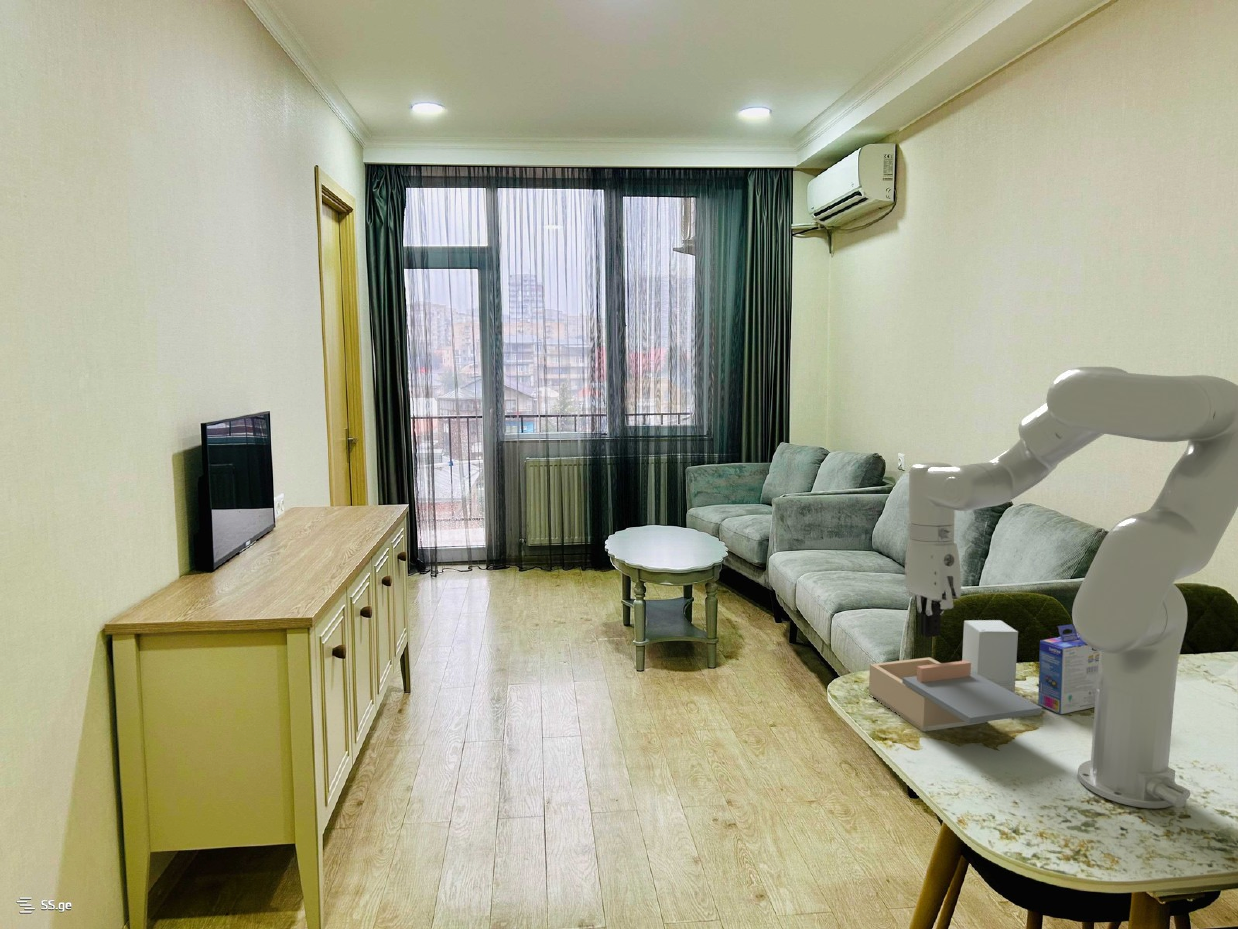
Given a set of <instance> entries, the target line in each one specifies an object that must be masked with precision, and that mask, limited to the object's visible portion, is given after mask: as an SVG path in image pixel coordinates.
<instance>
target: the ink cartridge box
mask: <svg viewBox="0 0 1238 929" xmlns="http://www.w3.org/2000/svg"><path fill="white" fill-rule="evenodd" d="M1057 630H1058V633H1059V636H1058V637H1053V638H1047V639H1041V640H1040V641H1039V664H1038V665H1039V666H1038V667H1039V668H1038V669H1039V670H1038V697H1037V698H1038V699H1037V700H1038V701H1037V703H1038V704H1037V705H1038V706H1040V707H1042V708H1046V709H1048V710H1050V711H1052V712H1054V713H1057V714H1058V715H1064V714H1065V715H1066V714H1070V713H1074V712H1079V711H1082V710H1086V709H1093V708H1095V696H1096V682H1097V671H1098V662H1099V655H1100V651H1098V650H1096V649H1094V648H1092V647H1090V646H1089V645H1087V644H1086V643H1085V642H1084V641H1083V640H1082V639H1081V638H1080V636H1079V635H1078V633H1077V632H1076V629H1075V627H1074V624H1065V625H1059V626H1058V625H1057ZM1066 630H1071V633H1063V632H1064V631H1066Z"/></svg>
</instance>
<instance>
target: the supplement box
mask: <svg viewBox="0 0 1238 929" xmlns="http://www.w3.org/2000/svg"><path fill="white" fill-rule="evenodd" d="M962 635H963V636H962V637H963V638H962V659H961V661H968V662H970V663H971V671H972V672H974V673H976V674H978V675H980V676H982V677H984V678H986V679H988V680H990V681H992V682H994V683H995V684H997V685H999V686H1001V687H1003V688H1005V689H1007V690H1009V691H1011V692H1013V693H1015V694H1016V691H1015V690H1016V676H1017V674H1016V673H1017V660H1018V659H1017V656H1018V638H1019V637H1018V636H1019V631H1018V630H1016V629H1014V628H1013V627H1012V626H1010V625H1008V624H1007V623H1005V622H1004V621H1003V620H1000V619H998V620H997V619H996V620H995V619H992V620H991V619H988V620H987V619H986V620H984V619H983V620H982V619H978V620H977V619H976V620H975V619H972V620H964V621H963V634H962Z"/></svg>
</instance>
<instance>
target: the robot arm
mask: <svg viewBox="0 0 1238 929" xmlns="http://www.w3.org/2000/svg"><path fill="white" fill-rule="evenodd" d="M1018 435H1019V438H1020V439H1019V440H1018V441H1017V442H1016V443H1015V444H1014V445H1013V446H1011V447H1009V448H1008V449H1007V450H1005V451H1004V452H1003V453H1001V454H1000V455H998V456H997V457H995V458H993V459H992V460H989V461H988V462H980V463H979V462H978V463H971V464H964V465H957V466H956V465H954V466H953V465H951V464H949V463H945V462H932V461H931V462H917V463H914V464H913V465H911V467H910V468H909V476H908V480H909V481H908V540H907V546H906V552H905V561H904V585H905V589H907V591H908V595H909V596H910V597H911V598H912V599H914V601H915V602H916V606H917V609H916V610H917V611H918V613H919V635H920V636H923V637H925V638H933V637H940V636H941V634H942V633H941V632H942V631H941V627H942V626H941V624H942V622H941V621H942V616H941V615H943V614H944V611H945V610H951V609H953V608H954V600H959V599H960V598H961V596H962V593H961V592H962V581H961V580H962V576H961V575H962V574H961V564H960V554H959V549H958V545H957V543H955V513H956V512H955V511H960V512H969V511H974V510H979V509H984V508H990V507H997V506H1001V505H1003V504H1006V503H1008V502H1010V501H1012V500H1014V499H1015V498H1017V497H1019V496H1020V495H1022V494H1024V493H1025V492H1027V491H1029V490H1030V489H1032V488H1033V487H1035V486H1036V485H1038V484H1039V483H1041V482H1042V481H1043V480H1045V478H1047V477H1048V476H1049V475H1050V474H1051V473H1052V472H1053V471H1054V470H1056V468H1057V466H1058V465H1059V464H1060V463H1061V462H1063V461H1065V460H1066V459H1067V458H1069V457H1071V456H1072V455H1074V454H1075V453H1077V452H1078V451H1080V450H1081V449H1082V450H1083V449H1084V448H1085V447H1087V446H1088V445H1090V444H1092V442H1095V441H1096V440H1098V439H1099V438H1100V437H1103V436H1104V435H1112V436H1118V437H1124V438H1129V439H1130V438H1131V439H1134V440H1135V439H1137V440H1144V441H1149V442H1157V443H1158V442H1159V443H1179V442H1186V441H1188V443H1187V447H1186V448H1185V451H1184V452H1183V454H1182V455H1181V457H1180V458H1179V459H1178V461H1177V462H1176V463H1175V465H1174V466H1173V468H1172V469H1171V471H1170V472H1169V473H1168V475H1167V478H1166V481H1165V483H1164V485H1163V487H1162V489H1161V491H1160V492H1159V494H1158V496H1157V497H1156V500H1155V501H1154V503H1153V504H1152V506H1151V507H1150V508H1149V509H1148V510H1146V511H1143V512H1138V513H1135V514H1132V515H1130V516H1127V517H1125V518H1123V519H1122V520H1120V521H1119V522H1117V523H1115V524H1114V526H1113V527H1112V528H1111V529H1110V530H1109V531H1108V533H1107V534H1106V535H1105V536H1104V539H1103V540H1102V542H1101V544H1100V545H1099V548H1098V550H1097V552H1096V553H1095V556H1094V559H1093V561H1092V562H1091V564H1090V566H1089V568H1088V571H1087V572H1086V575H1085V576H1084V578H1083V581H1082V582H1081V585H1080V587H1079V589H1078V591H1077V593H1076V594H1075V595H1076V596H1075V598H1074V601H1073V605H1072V610H1071V612H1072V613H1071V616H1072V623H1073V624H1072V625H1073V627H1074V629H1075V631H1076V634H1078V635H1079V636H1080V638H1081V639H1082V640H1083V641H1084V642H1085V643H1086V644H1087V645H1089V646H1090V647H1092V648H1094V649H1096V650H1098V651H1100V655H1099V662H1098V671H1097V682H1096V696H1095V707H1094V713H1093V726H1092V741H1091V754H1090V760H1087V761H1084V762H1082V763H1081V764H1080V765H1079V766H1078V767H1077V778H1078V780H1079V782H1080V783H1081V784H1082V785H1083V786H1084V787H1085V788H1086V789H1087V790H1089V791H1091V792H1092V793H1094V794H1096V795H1098V796H1100V797H1102V798H1105V799H1106V800H1109V801H1112V802H1115V803H1118V804H1121V805H1126V806H1130V807H1135V808H1140V809H1141V808H1142V809H1164V808H1165V809H1166V808H1169V807H1172V806H1174V807H1176V808H1177V809H1181V808H1183V807H1184V806H1185V805H1186V802H1187V799H1189V798H1190V797H1191V795H1192V794H1191V790H1190V789H1188V788H1187V787H1184V786H1183V785H1179V784H1177V783H1176V781H1175V779H1176V770H1175V769H1174V768H1171V767H1169V763H1170V754H1171V753H1170V752H1171V741H1172V740H1171V739H1172V730H1173V728H1172V726H1173V717H1174V716H1173V715H1174V705H1175V704H1174V703H1175V692H1176V687H1177V686H1176V685H1177V684H1176V683H1177V674H1178V665H1179V660H1180V654H1181V649H1182V645H1183V642H1184V638H1185V633H1186V629H1187V623H1188V606H1187V603H1186V600H1185V597H1184V594H1183V593H1182V592H1181V590H1180V589H1179V587H1177V586H1176V584H1174V582H1175V581H1176V580H1180V579H1184V578H1186V577H1189V576H1192V575H1194V574H1196V573H1199V572H1200V571H1202V570H1203V569H1204V568H1206V566H1207V565H1208V564H1209V563H1210V561H1211V559H1212V557H1213V555H1214V553H1215V551H1216V549H1217V546H1218V545H1219V543H1220V541H1221V539H1222V537H1223V536H1224V534H1225V532H1226V530H1227V528H1228V526H1229V525H1230V523H1231V521H1232V519H1233V518H1234V516H1235V514H1236V512H1237V509H1238V384H1235V383H1234V382H1232V381H1230V380H1228V379H1225V378H1222V377H1218V376H1213V375H1204V374H1203V375H1202V374H1201V375H1198V374H1197V375H1195V374H1194V375H1158V374H1157V375H1156V374H1145V373H1144V374H1143V373H1133V372H1131V373H1130V372H1128V371H1126V370H1124V369H1122V368H1119V367H1113V366H1080V367H1079V366H1078V367H1074V368H1071V369H1068V370H1066V371H1065V372H1062V373H1061V374H1060V375H1058V376H1057V377H1056V378H1055V379H1054V380H1053V381H1052V383H1051V384H1050V386H1049V388H1048V390H1047V394H1046V402H1045V403H1043V404H1042V405H1041V406H1039V407H1038V408H1036V409H1035V410H1033V411H1032V412H1030V413H1029V414H1027V415H1026V416H1025V417H1023V418H1022V419H1021V420H1020V422H1019V424H1018Z"/></svg>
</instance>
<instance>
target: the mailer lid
mask: <svg viewBox="0 0 1238 929" xmlns="http://www.w3.org/2000/svg"><path fill="white" fill-rule="evenodd" d="M902 683H903V684H904V685H906V686H908V687H909V688H911V689H913V690H914V691H916V692H918V693H919V694H921V695H922V696H924V697H926V698H927V699H929V700H931V701H932V702H934V703H936V704H937V705H939V706H941V707H942V708H944V709H946V710H947V711H949V712H950V713H952V714H954V715H955V716H957V717H959V718H960V719H962V720H964V721H965V722H967V723H969V724H973V725H975V724H974V723H980V724H982V723H981V722H987V723H988V722H993V721H1000V720H1007V719H1008V720H1009V719H1014V718H1021V717H1029V716H1035V715H1041V714H1043V706H1041V705H1039V704H1037V703H1034V702H1032V701H1030V700H1028V699H1026V698H1024V697H1022V696H1021V695H1019V694H1017V693H1016V692H1015V693H1013V692H1011V691H1009V690H1007V689H1005V688H1003V687H1001V686H999V685H997V684H995V683H994V682H992V681H990V680H988V679H986V678H984V677H982V676H980V675H978V674H976V673H974V672H972V671H971V663H970V662H968V661H962V660H959V661H951V662H940V664H932V665H923V666H917V676H914V677H905V678H903V682H902Z"/></svg>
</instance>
